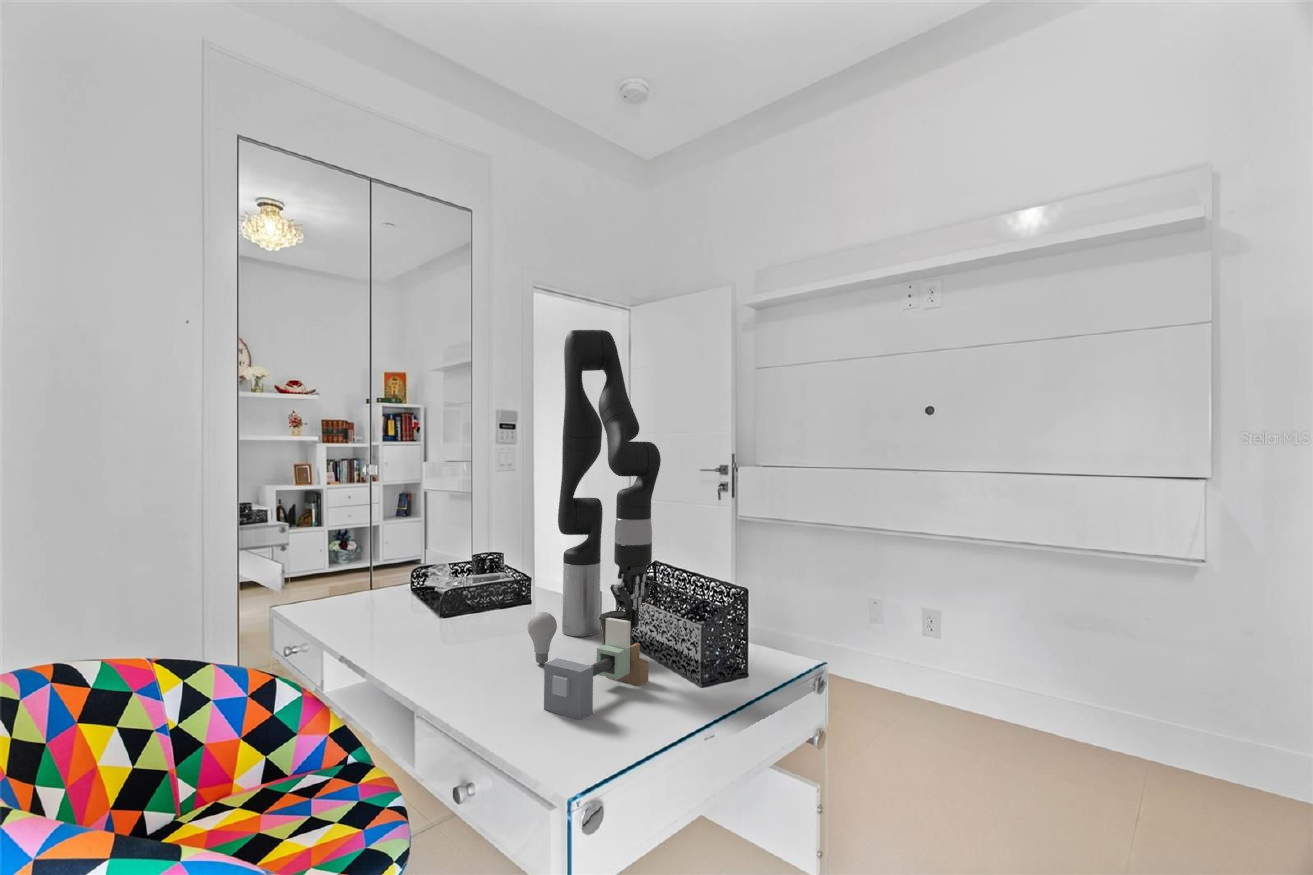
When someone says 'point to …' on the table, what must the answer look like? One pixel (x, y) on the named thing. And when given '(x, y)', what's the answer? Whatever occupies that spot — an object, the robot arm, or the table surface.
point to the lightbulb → (542, 634)
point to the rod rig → (584, 682)
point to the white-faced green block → (616, 648)
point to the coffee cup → (615, 615)
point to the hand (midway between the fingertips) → (632, 627)
